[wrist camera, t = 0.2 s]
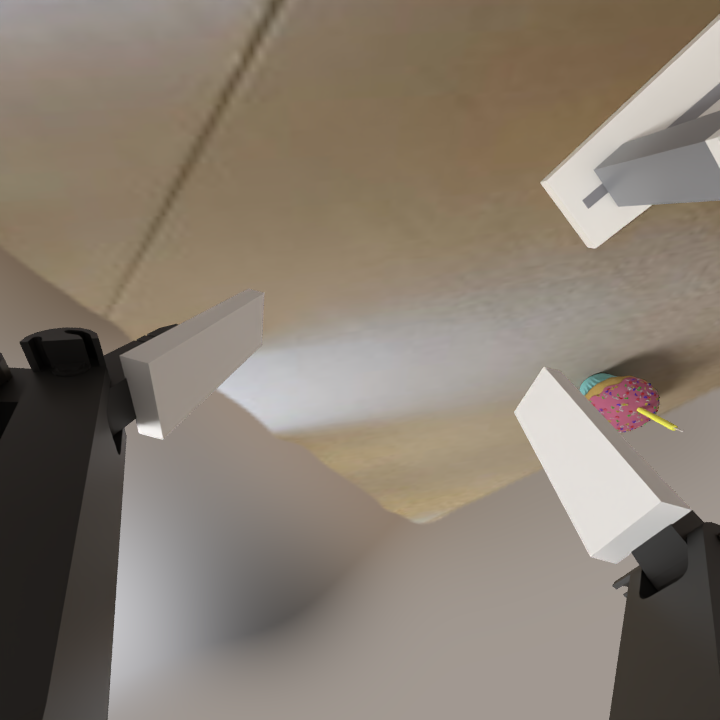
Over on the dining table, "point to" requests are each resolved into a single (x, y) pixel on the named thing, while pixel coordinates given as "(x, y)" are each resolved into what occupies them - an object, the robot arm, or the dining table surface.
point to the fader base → (636, 135)
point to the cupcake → (624, 401)
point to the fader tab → (666, 165)
